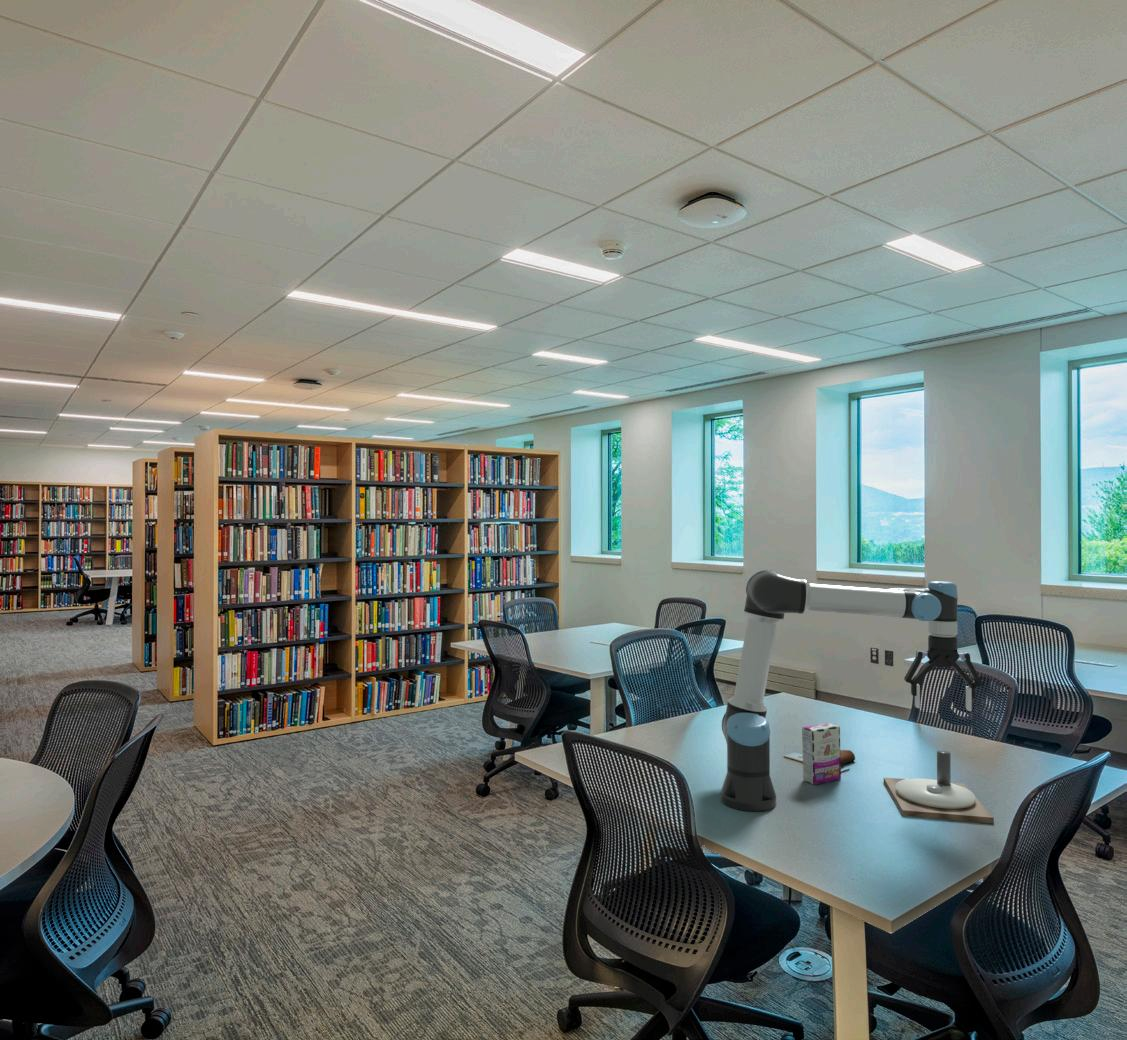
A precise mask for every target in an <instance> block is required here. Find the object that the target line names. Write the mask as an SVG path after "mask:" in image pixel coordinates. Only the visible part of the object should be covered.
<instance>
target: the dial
mask: <svg viewBox="0 0 1127 1040" xmlns="http://www.w3.org/2000/svg"><path fill="white" fill-rule="evenodd" d="M951 759H952V757H951V752H950V751H946V750H937V751H936V779H932V778H919V777H918V778H904V779H905V780H901V781H899V782H897V783H896V792H897V794H898V795H900V796H901V797H903V798H905V799H907V800H909V801H912V802H915V803H918V804H921V805H925V806H930V807H936V808H946V809H960V808H967V807H970V806H972V805H974V804H975V797H976V794H975V793H973V792H972V790H970V789H969V788H968V789H969V790H968V789H966V788H964V787H962V786H959V785H956V784H953V783H954V782H952V781H951V777H952V776H951V774H952V773H951V770H952V769H951V767H952V766H951ZM951 782H952V783H951Z"/></svg>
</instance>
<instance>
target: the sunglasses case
mask: <svg viewBox="0 0 1127 1040" xmlns="http://www.w3.org/2000/svg"><path fill="white" fill-rule="evenodd" d="M840 757H841V758H840V760H841V766H842V765H845V764H847V763H850V762H854V761H855V760H856V756H855V754H854V752H853V751H851V750H849V749H840Z"/></svg>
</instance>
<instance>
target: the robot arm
mask: <svg viewBox="0 0 1127 1040" xmlns="http://www.w3.org/2000/svg"><path fill="white" fill-rule="evenodd" d="M927 585H928V586H927V587H925V588H918V587H917V588H914V587H913V588H912V587H911V588H910V587H908V588H907V587H890V588H889V587H888V588H887V589H884V588H873V587H859V586H858V587H857V586H847V585H846V586H845V585H844V586H843V585H836V584H835V585H833V584H821V583H820V584H819V583H809V582H808V581H807V580H806V579H802V578H801V579H800V578H794V577H789V576H785V575H783V574H780V573H778V572H777V571H774V570H771V569H770V570H768V569H765V570H760V571H757V572H756V573H754V574H753V575H751V577H749V579H748V581H747V583H746V586H745V593H746V596H745V598H746V599H745V604H744V610H743V611H744V612H743V613H744V614H745V616H746V617H747V622H746V628H745V633H744V638H743V643H742V644H743V645H742V650H741V655H740V661H739V665H738V666H739V667H738V672H737V677H736V683H735V689H734V695H733V696H732V697H730V698H728V699H727V704H726V709H725V712H724V714H723V716H722V720H721V731H722V734H723V737H724V740H725V743H726V749H727V750H726V761H727V762H726V767H727V768H726V771H727V772H726V775H725V777H724V781H723V782H722V783H723V785H722V786H721V791H720V800H721V802H722V803H723V804H724V805H726V806H727V807H730V808H732V809H736V810H741V811H747V812H764V811H768V810H771V809H773V808H775V807H776V806H777V794H776V791H775V787H774V785H773V782H772V778H771V775H770V773H771V771H770V770H771V769H770V768H771V767H770V766H771V764H770V763H771V762H770V760H771V759H770V758H771V755H770V751H771V750H770V748H771V747H770V743H771V742H770V741H771V740H770V739H771V738H770V737H771V728H770V724H769V721H768V720H767V712H768V708H767V706H766V704H764V699H765V694H766V689H767V683H768V677H769V676H768V675H769V671H770V668H771V666H770V665H771V661H772V654H773V649H774V644H775V638H776V632H777V626H778V624H780V623H781V622H782V621H784V617H785V614H806V612H808V611H809V612H810V611H811V612H820V613H821V612H823V613H833V614H834V613H835V614H836V613H837V614H846V615H847V614H849V615H861V616H863V615H864V616H874V617H875V616H876V617H889V618H898V619H899V618H902V619H910V620H911V619H912V620H919V621H921V622H928V625H927V626H928V628H927V630H928V631H927V632H928V638H927V643H928V644H927V645H928V647H927V651H922V650H919V649H917V650H916V651H915V657H914V660H913V662H912V663H911V665H910V667H909V669H908V671H907V673H906V674H905V676H904V678H903V679H904V681H905V682H906V683H908V684H910V694H911V696H913V697H914V707H915V708H916V709H921V698H920V697H921V687H920V686H921V685H920V684H919V683H920V681H921V680H922V679H924V677H925V676H926V675H927V674H928V673H929V672H930V671H931V670H933V669H934V668H936V667H937V668H939V669H940V668H946V669H950V668H953V669H954V670H955V671H956V673H957V674H958V675H959V676H960V678H962V679H963V680H964V681H965V683H966V684H967V685H968V686H967V685H966V686H965V709H966V710H967V711H968V712H972V702H973V701H972V700H975V699H976V688H978V687H982V686H983V685H984V684H983V681H982V680H981V677H980V676H979V674H978V672H977V670H976V669H975V667H974V665H973V663H972V660H971V654H970V653H968V652H966V651H964V652H960V653H959V652H958V637H957V635H958V599H959V597H958V588H957V584H956V583H955V582H953V581H944V580H943V581H941V580H939V581H938V580H937V581H936V580H935V581H934V580H932V581H929V582H928V583H927ZM926 657H927V658H928V659H929V660H928V661H927V662H926V663H925V665H924V666H923V667H922V668H921V669H920V670H919V671H918V672H917V670H918V669H919V667H920V665H921V663H922V660H924V659H925V658H926ZM959 658H960V660H962V661H963V662H964V664H965V666H966V667H967V670H968V671H969V674H970V675H971V677H972V679H973V680H972V679H971V678H970V677H969V676H968V675H967V673H965V671H964V670H963V669H962V668H961V667H960V665H959V664H958V663H957V661H958V660H959ZM916 672H917V673H916ZM915 674H916V675H915Z"/></svg>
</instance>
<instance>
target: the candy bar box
mask: <svg viewBox="0 0 1127 1040" xmlns="http://www.w3.org/2000/svg"><path fill="white" fill-rule="evenodd" d="M801 730H802V732H801V733H802V738H801V739H802V777H803V778H802V780H803V781H804V782H806V783H809V784H810V785H811V784H812V785H814V786H816V785H820V784H824V783H831V782H834V781H838V780H842V770H841V769H842V767H841V766H842V765H841V760H840V758H841V757H840V750H841V725H837V724H834V723H831V722H824V723H819V724H815V725H814V724H813V725H807V726H802V728H801Z"/></svg>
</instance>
